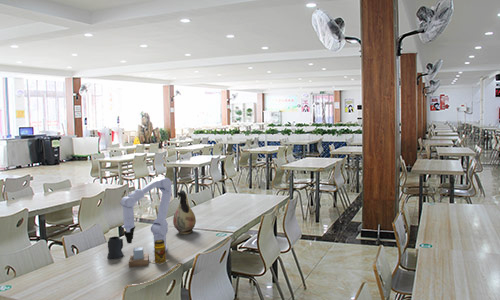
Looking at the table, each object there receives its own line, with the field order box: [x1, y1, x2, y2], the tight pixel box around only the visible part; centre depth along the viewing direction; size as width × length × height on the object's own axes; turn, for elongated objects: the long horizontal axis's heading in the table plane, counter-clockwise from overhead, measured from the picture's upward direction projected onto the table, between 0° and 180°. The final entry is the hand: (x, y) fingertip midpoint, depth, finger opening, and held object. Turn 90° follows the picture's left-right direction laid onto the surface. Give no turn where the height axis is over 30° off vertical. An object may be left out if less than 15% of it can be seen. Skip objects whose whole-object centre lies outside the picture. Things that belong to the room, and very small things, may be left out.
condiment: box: [150, 240, 170, 265], centre depth 228 cm, size 7×8×12 cm
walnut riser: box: [128, 253, 150, 268], centre depth 227 cm, size 10×10×3 cm
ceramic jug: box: [172, 189, 197, 235], centre depth 281 cm, size 17×15×30 cm
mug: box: [106, 236, 124, 260], centre depth 240 cm, size 12×9×11 cm
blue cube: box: [132, 246, 144, 260], centre depth 227 cm, size 5×5×5 cm
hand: (130, 241), depth 233 cm, fingers open, 7 cm apart
